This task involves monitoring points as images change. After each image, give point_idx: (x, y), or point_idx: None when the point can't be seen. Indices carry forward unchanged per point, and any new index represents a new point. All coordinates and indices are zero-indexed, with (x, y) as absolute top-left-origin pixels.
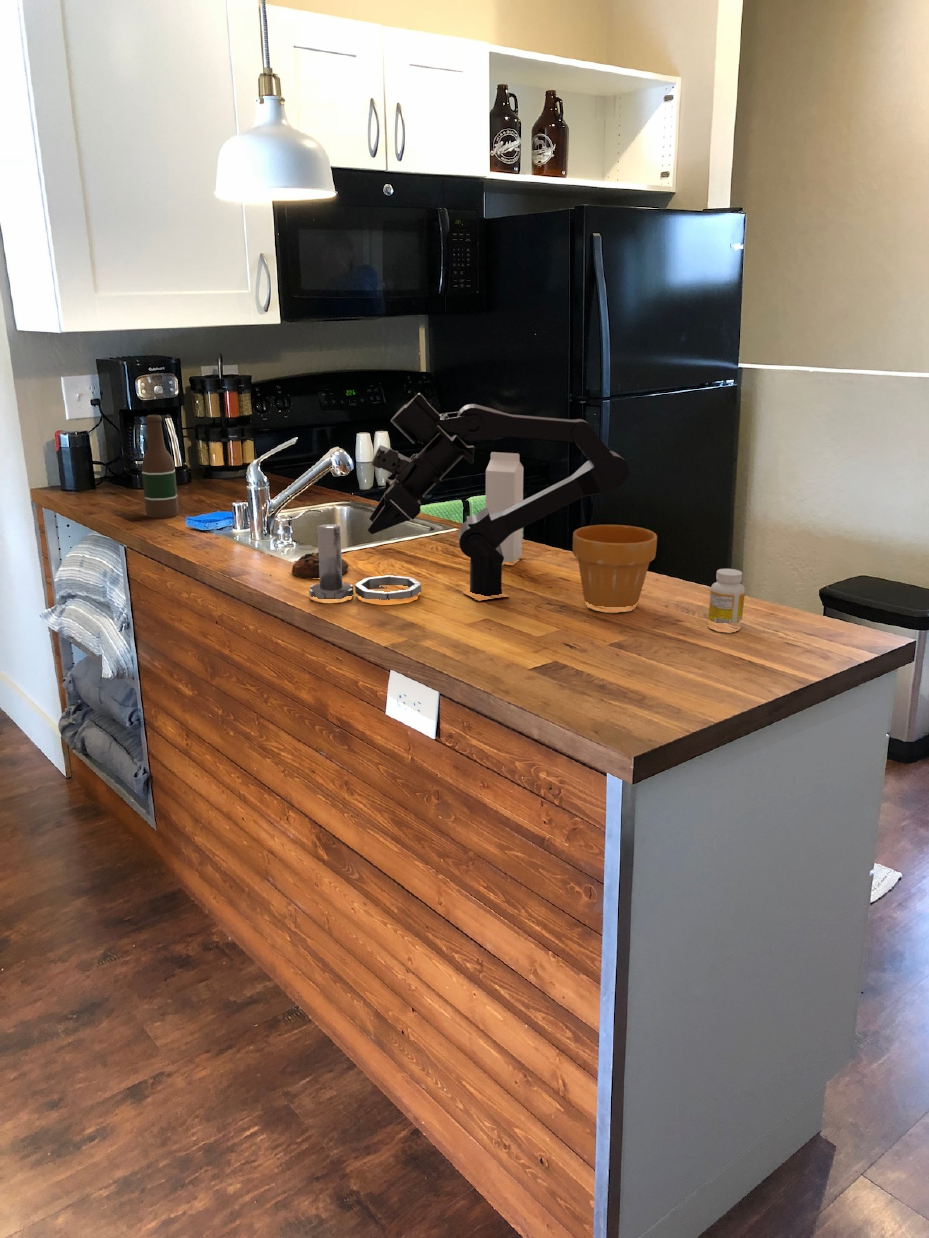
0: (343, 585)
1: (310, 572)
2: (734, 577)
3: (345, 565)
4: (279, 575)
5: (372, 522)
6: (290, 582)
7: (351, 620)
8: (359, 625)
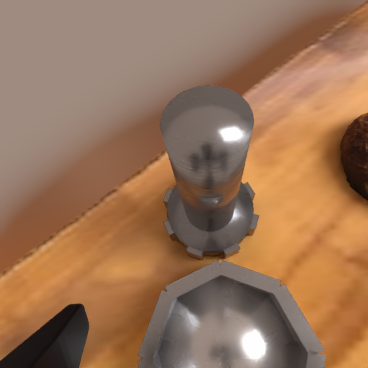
0: (225, 232)
1: (345, 147)
2: None
3: None
4: (351, 100)
5: (51, 339)
6: (307, 126)
7: (60, 273)
8: (26, 293)
